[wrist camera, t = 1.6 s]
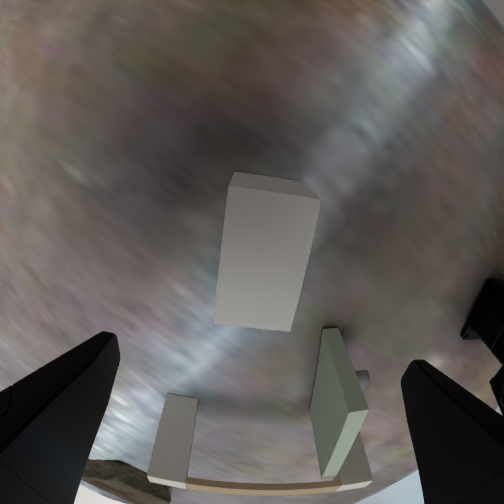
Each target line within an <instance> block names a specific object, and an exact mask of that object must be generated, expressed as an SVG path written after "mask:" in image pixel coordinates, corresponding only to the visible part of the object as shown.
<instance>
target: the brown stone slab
mask: <svg viewBox="0 0 504 504" xmlns="http://www.w3.org/2000/svg"><path fill="white" fill-rule="evenodd" d="M81 480H83V481H85V482H87V483H89V484H91V485H93V486H95V487H97V488H99V489H101V490H104V491H107V492H109V493H111V494H114V495H116V496H118V497H120V498H123V499H125V500H127V501H129V502H131V503H134V504H170V502H171V494H170V493H169V492H167V489H166V488H165V486H164V485H163V484H158V483H153V482H150V481H149V479H148V477H147V473H146V472H143V471H141V470H139V469H137V468H135V467H133V466H131V465H129V464H125V463H121V462H117V461H110V460H103V461H102V460H90V459H88V460H87V463H86V466H85V469H84V472H83V475H82V478H81Z"/></svg>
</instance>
